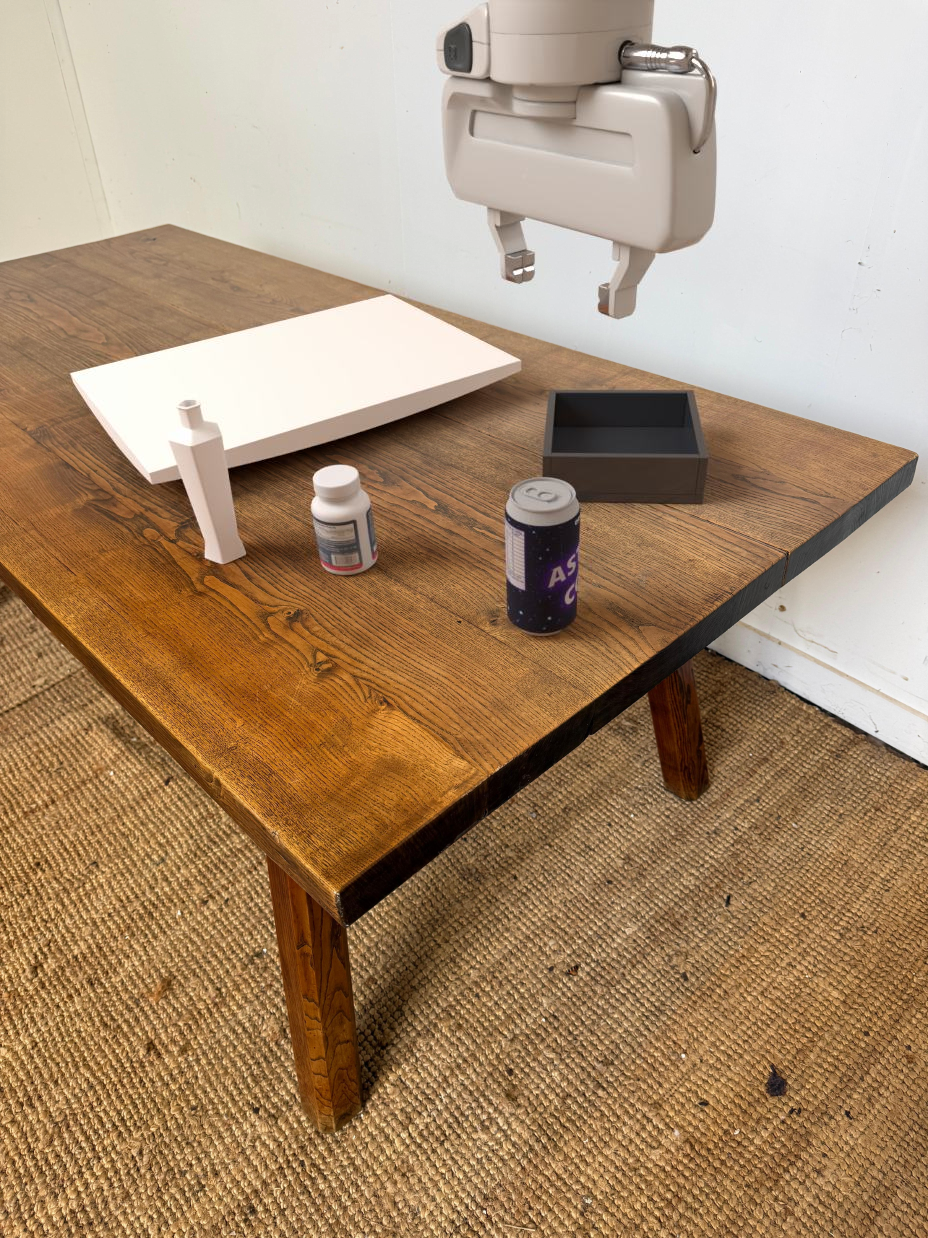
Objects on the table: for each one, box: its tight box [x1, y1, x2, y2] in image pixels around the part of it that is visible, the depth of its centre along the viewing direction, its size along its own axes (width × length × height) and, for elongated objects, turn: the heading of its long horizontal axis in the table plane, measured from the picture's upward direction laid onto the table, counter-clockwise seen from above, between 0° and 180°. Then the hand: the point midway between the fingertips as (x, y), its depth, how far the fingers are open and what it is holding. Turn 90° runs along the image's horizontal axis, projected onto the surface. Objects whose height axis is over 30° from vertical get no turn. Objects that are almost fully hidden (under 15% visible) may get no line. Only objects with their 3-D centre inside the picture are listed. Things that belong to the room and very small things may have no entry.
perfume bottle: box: [168, 398, 247, 565], centre depth 79 cm, size 5×4×15 cm
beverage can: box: [504, 476, 582, 637], centre depth 69 cm, size 6×6×12 cm
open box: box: [541, 389, 710, 505], centre depth 91 cm, size 16×16×5 cm
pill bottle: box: [310, 464, 379, 576], centre depth 78 cm, size 5×5×9 cm
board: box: [69, 293, 522, 485], centre depth 108 cm, size 45×32×5 cm
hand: (564, 296), depth 56 cm, fingers open, 8 cm apart
